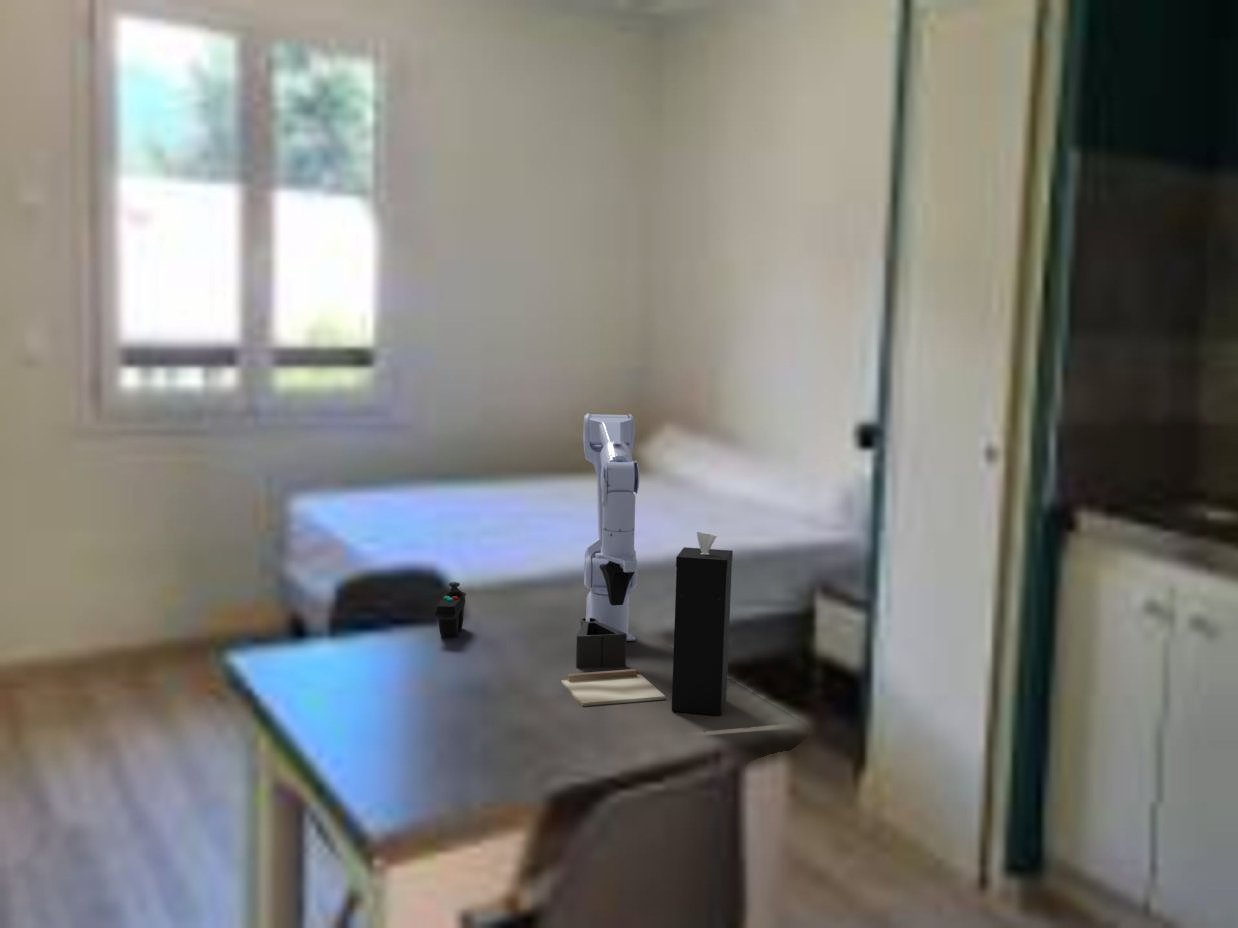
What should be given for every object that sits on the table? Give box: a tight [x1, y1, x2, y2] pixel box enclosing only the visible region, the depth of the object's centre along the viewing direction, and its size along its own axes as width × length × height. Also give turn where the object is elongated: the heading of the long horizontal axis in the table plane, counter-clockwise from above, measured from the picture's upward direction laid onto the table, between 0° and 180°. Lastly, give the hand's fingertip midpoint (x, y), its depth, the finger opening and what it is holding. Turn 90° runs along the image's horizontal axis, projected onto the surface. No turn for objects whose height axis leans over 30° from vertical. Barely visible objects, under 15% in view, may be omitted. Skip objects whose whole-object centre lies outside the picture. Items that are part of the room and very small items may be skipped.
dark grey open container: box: [575, 617, 628, 669], centre depth 211 cm, size 9×6×12 cm
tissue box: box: [671, 531, 734, 716], centre depth 185 cm, size 8×8×28 cm
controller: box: [434, 581, 467, 638], centre depth 220 cm, size 4×12×10 cm, turn 177°
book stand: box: [561, 668, 666, 707], centre depth 193 cm, size 12×14×2 cm
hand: (616, 604), depth 210 cm, fingers closed
